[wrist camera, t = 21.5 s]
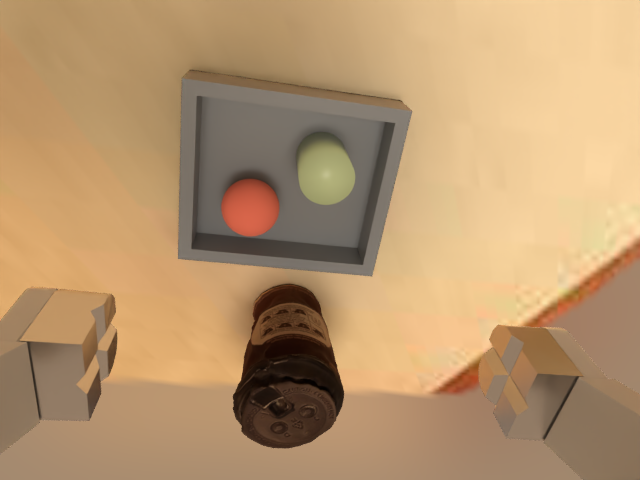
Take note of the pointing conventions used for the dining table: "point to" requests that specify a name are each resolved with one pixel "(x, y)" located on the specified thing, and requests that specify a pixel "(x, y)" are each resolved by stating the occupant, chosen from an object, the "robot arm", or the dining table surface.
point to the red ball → (250, 207)
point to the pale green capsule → (324, 169)
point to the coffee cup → (288, 372)
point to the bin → (284, 171)
